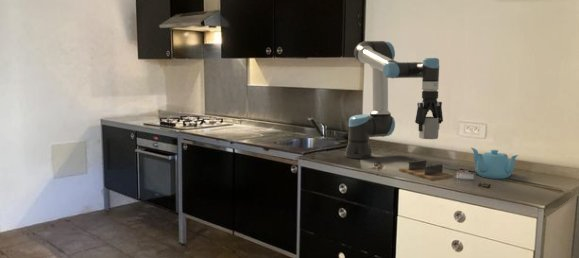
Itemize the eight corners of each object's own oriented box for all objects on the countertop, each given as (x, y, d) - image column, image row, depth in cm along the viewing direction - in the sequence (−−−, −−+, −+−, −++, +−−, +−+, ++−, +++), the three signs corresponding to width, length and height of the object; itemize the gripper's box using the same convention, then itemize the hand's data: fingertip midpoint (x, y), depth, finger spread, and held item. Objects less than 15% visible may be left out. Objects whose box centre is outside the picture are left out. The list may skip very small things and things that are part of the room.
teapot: (476, 179, 223) (478, 153, 221) (469, 170, 241) (470, 146, 239) (517, 181, 220) (518, 154, 218) (506, 172, 238) (508, 147, 236)
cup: (424, 136, 243) (424, 116, 242) (440, 137, 238) (441, 117, 237) (417, 138, 236) (417, 117, 235) (433, 139, 231) (434, 118, 230)
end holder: (398, 170, 240) (399, 160, 240) (420, 168, 247) (421, 157, 246) (430, 180, 221) (430, 169, 220) (453, 177, 227) (453, 166, 227)
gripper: (419, 91, 226) (417, 139, 229) (452, 90, 236) (450, 136, 239) (407, 90, 233) (406, 137, 235) (440, 89, 243) (439, 134, 245)
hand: (428, 137), depth 237 cm, fingers closed on cup, 8 cm apart
